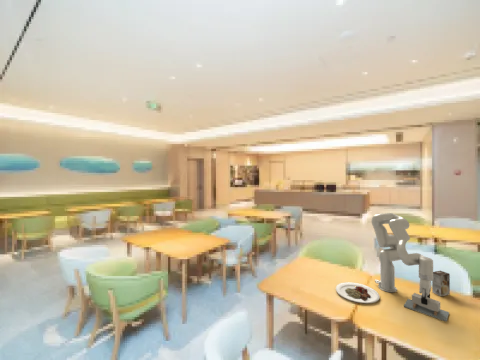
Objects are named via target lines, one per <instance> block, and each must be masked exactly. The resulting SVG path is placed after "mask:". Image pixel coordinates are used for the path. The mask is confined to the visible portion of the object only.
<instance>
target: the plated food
mask: <svg viewBox="0 0 480 360" xmlns="http://www.w3.org/2000/svg"><path fill="white" fill-rule="evenodd" d="M355 286H356V287H355ZM335 291H336V292H337V294H338V295H339V296H341V297H342V298H344V299H346V300H349V301H351V302H355V303H359V304H372V303H377V302H378V301H379V300H380V297H381V296H380V294H379V293H378V291H376V290H375V289H373V287H370V286H368V285H366V284H363V283H359V282H351V281H350V282H348V281H347V282H340V283H338V284H337V285H336V286H335Z"/></svg>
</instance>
